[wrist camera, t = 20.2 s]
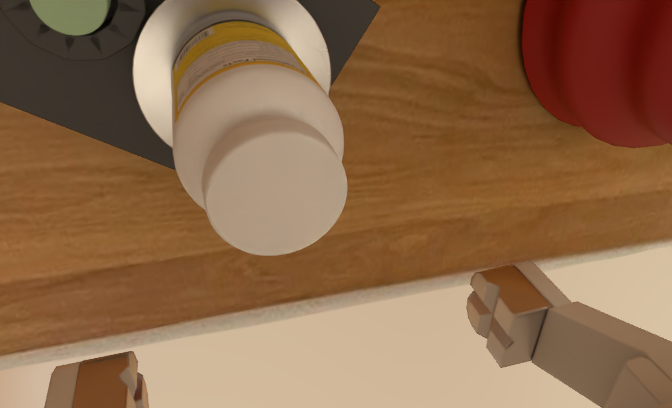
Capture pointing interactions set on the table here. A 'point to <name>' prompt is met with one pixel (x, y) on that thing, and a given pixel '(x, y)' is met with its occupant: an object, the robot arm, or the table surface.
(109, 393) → the robot arm
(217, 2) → the scale pan
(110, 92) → the scale
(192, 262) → the table surface
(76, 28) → the button
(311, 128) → the pill bottle
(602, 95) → the table lamp
